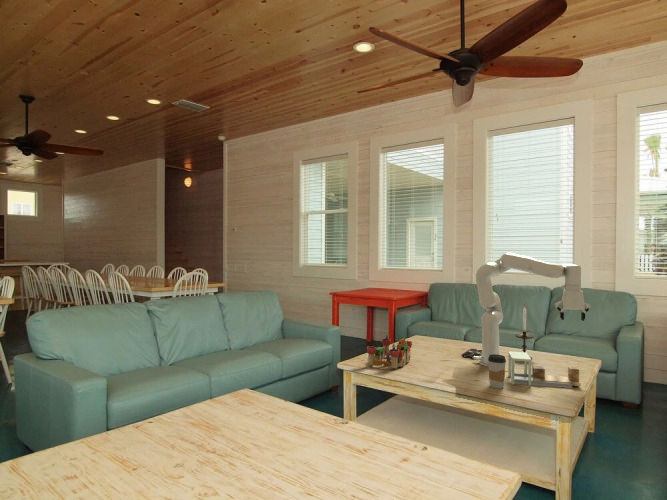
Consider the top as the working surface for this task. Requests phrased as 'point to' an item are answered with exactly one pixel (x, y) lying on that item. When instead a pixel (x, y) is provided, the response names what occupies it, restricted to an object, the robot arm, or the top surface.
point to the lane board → (523, 379)
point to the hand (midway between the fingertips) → (572, 319)
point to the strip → (571, 379)
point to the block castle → (390, 353)
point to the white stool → (519, 357)
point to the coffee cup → (496, 370)
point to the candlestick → (524, 332)
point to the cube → (538, 372)
